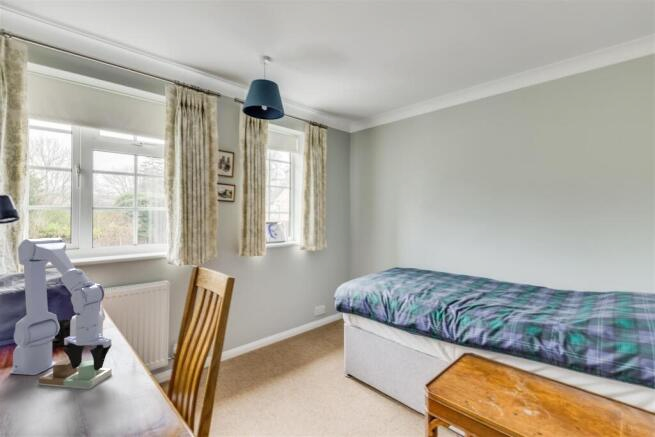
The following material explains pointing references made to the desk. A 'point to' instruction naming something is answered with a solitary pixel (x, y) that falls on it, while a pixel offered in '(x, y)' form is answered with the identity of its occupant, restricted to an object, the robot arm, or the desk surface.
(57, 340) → the webcam
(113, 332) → the desk surface
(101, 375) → the slot board
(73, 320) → the photo printer
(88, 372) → the sage block
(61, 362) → the walnut block
